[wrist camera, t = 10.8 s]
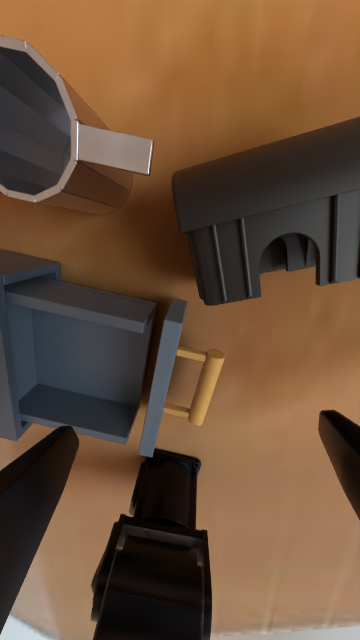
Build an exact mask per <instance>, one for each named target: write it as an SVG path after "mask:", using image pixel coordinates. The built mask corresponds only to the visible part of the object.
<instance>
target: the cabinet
mask: <svg viewBox="0 0 360 640" xmlns="http://www.w3.org/2000/svg"><path fill="white" fill-rule="evenodd" d="M38 276H41V277H45V278H50V279H54V280H59V281H61V263H60V262H55V261H51V260H47V259H42V258H38V257H33V256H29V255H24V254H20V253H16V252H11V251H7V250H2V249H0V437H1V438H5V439H9V440H13V441H17V440H18V439H19V438H20V437H21V436H22V434H23V433H24V432H25V431H26V430H27V429H28V428H29V427H30V426H31V424H32V423H31V422H26V421H22V420H21V417H20V409H19V402H18V394H17V386H16V378H15V370H14V362H13V354H12V346H11V338H10V330H9V322H8V314H7V306H6V298H5V290H4V285H7V284H11V283H15V282H19V281H22V280H26V279H30V278H34V277H38Z"/></svg>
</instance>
